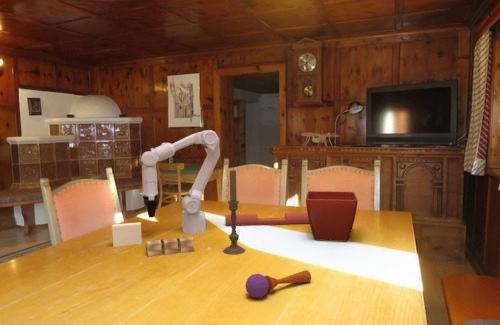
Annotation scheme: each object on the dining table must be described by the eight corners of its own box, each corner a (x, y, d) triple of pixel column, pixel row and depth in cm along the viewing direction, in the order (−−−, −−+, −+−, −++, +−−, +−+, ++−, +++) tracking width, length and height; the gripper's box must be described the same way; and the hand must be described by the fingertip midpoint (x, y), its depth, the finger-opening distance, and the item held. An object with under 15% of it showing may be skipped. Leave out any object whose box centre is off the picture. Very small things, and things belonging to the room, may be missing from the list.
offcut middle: (176, 249, 129) (176, 238, 129) (177, 252, 126) (177, 241, 125) (163, 250, 128) (163, 239, 128) (164, 254, 124) (164, 242, 124)
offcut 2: (191, 247, 131) (191, 236, 131) (193, 250, 127) (193, 239, 127) (179, 248, 130) (179, 237, 129) (181, 252, 126) (180, 241, 125)
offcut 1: (160, 251, 128) (160, 239, 127) (161, 254, 124) (161, 243, 123) (147, 252, 126) (147, 241, 126) (148, 256, 122) (147, 244, 122)
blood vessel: (225, 227, 163) (225, 216, 162) (225, 224, 168) (225, 213, 167) (317, 224, 165) (317, 214, 164) (315, 222, 170) (315, 211, 169)
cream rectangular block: (141, 242, 139) (140, 222, 138) (141, 245, 136) (140, 224, 135) (113, 245, 136) (112, 224, 135) (113, 248, 133) (112, 226, 132)
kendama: (316, 271, 100) (255, 283, 90) (312, 291, 101) (251, 304, 91) (302, 261, 105) (243, 271, 94) (298, 280, 106) (240, 291, 96)
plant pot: (307, 229, 157) (307, 190, 155) (353, 231, 153) (354, 191, 152) (305, 242, 138) (305, 198, 137) (357, 245, 134) (358, 200, 133)
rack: (188, 242, 140) (188, 236, 140) (194, 253, 127) (194, 247, 127) (145, 247, 135) (145, 240, 135) (147, 259, 122) (147, 252, 122)
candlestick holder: (250, 250, 130) (249, 167, 127) (241, 259, 121) (240, 170, 118) (227, 248, 133) (225, 166, 130) (216, 256, 124) (215, 169, 121)
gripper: (138, 179, 150) (140, 211, 152) (139, 184, 137) (141, 219, 138) (156, 178, 153) (157, 210, 154) (159, 183, 139) (160, 218, 140)
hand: (151, 214), depth 146 cm, fingers open, 7 cm apart
